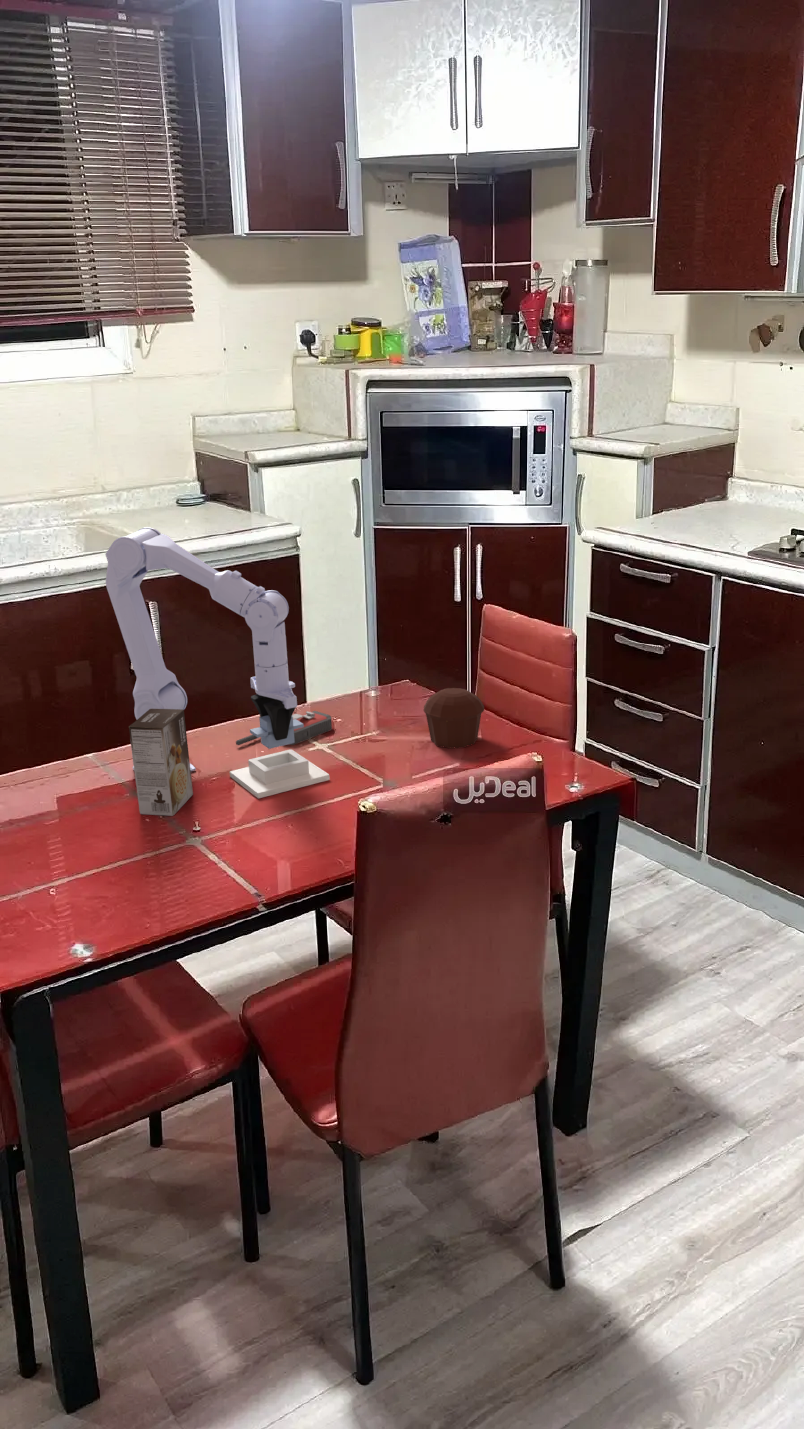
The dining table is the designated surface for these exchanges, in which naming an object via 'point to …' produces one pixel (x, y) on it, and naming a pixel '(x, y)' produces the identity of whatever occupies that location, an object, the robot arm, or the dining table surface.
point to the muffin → (453, 717)
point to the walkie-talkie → (312, 727)
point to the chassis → (278, 773)
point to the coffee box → (161, 761)
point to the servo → (267, 732)
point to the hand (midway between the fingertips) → (276, 735)
